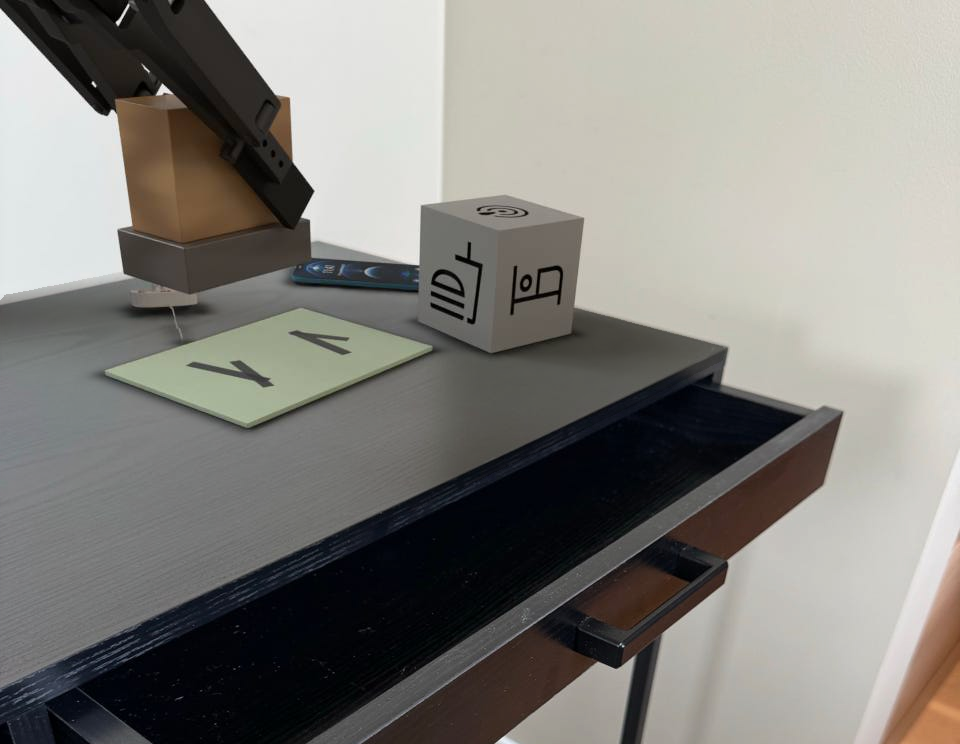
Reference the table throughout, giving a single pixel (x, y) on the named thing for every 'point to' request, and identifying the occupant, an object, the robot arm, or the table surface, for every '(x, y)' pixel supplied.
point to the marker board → (269, 365)
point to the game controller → (162, 299)
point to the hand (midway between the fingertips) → (261, 199)
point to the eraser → (196, 202)
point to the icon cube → (498, 270)
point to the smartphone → (358, 273)
